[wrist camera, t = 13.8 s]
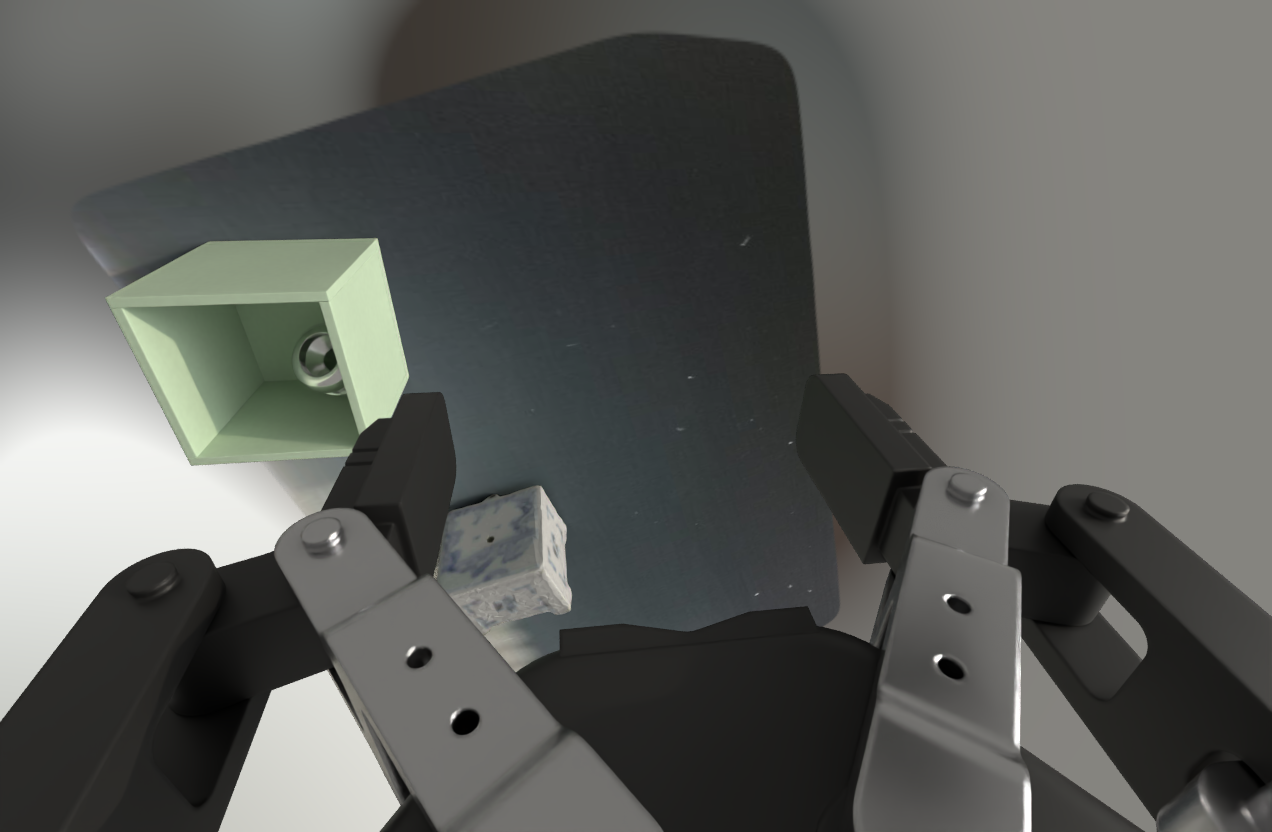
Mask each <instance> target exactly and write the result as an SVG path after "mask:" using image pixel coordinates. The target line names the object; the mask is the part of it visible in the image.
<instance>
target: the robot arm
mask: <svg viewBox="0 0 1272 832" xmlns="http://www.w3.org/2000/svg"><path fill="white" fill-rule="evenodd" d="M796 447H797V452H798V456H799V458H800V460H801V462H802V464H803V465H804V467H805V469H806V470H807V472H808V473H809V475H810V477H811V478H812V480H813V482H814V483H815V485H816V487H817V488H818V490H819V492H820V493H821V495H822V497H823V498H824V500H825V502H826V503H827V505H828V507H829V508H830V510H831V511H832V513H833V515H834V516H835V518H836V520H837V521H838V523H839V525H840V526H841V528H842V530H843V531H844V533H845V534H846V536H847V538H848V539H849V541H850V543H851V544H852V546H853V548H854V549H855V551H856V553H857V554H858V556H859V558H860V559H861V561H862V563H863V564H873V563H884V562H887V563H888V564H889V566H890V567H891V569H890V572H889V576H888V578H887V581H886V584H885V588H884V592H883V595H882V599H881V603H880V606H879V610H878V614H877V617H876V621H875V625H874V629H873V633H872V636H871V640H870V643H868V642H866V641H863V640H861V639H859V638H857V637H855V636H852V635H849V634H846V633H843V632H841V631H837V630H833V629H829V628H825V627H819V626H816V624H815V621H814V619H813V617H812V615H811V613H810V610H809V608H808V606H805V607H795V608H784V609H774V610H763V611H752V612H747V613H744V614H741V615H738V616H736V617H733V618H730V619H727V620H724V621H721V622H718V623H716V624H713V625H710V626H707V627H704V628H701V629H698V630H695V631H690V632H683V631H675V630H667V629H660V628H652V627H644V626H636V625H628V624H615V625H605V626H594V627H583V628H573V629H562V630H560V650H558V651H556V652H553V653H550V654H547V655H545V656H543V657H541V658H539V659H537V660H535V661H533V662H531V663H530V664H528V665H526V666H525V667H523V668H521V669H520V670H519V671H517V672H516V673H515V671H514V670H513V669H512V668H511V667H510V666H509V664H508V663H507V662H506V661H505V660H504V659H503V657H502V656H501V655H500V654H499V653H498V652H497V650H496V649H495V648H494V647H493V646H492V645H491V643H490V642H489V641H488V640H487V639H486V638H485V636H484V635H483V634H482V633H481V632H480V631H479V629H478V628H477V627H476V626H475V625H474V624H473V622H472V621H471V620H470V619H469V618H468V617H467V615H466V614H465V613H464V612H463V611H462V610H461V608H460V607H459V606H458V605H457V604H456V603H455V601H454V600H453V599H452V598H451V597H450V596H449V594H448V593H447V592H446V591H445V590H444V589H443V587H442V586H441V585H440V584H439V583H438V582H437V580H436V579H435V578H434V577H433V575H434V570H435V566H436V562H437V557H438V553H439V549H440V544H441V540H442V536H443V531H444V527H445V523H446V518H447V514H448V510H449V506H450V501H451V497H452V493H453V488H454V484H455V479H456V457H455V450H454V445H453V440H452V435H451V430H450V425H449V419H448V414H447V409H446V404H445V400H444V397H443V395H442V393H441V392H431V393H410V394H403V395H402V397H401V399H400V402H399V404H398V406H397V408H396V411H395V413H394V415H393V417H392V418H378V419H377V420H376V421H375V422H373V423H372V424H371V425H370V426H369V427H367V428H366V429H365V430H364V431H363V432H361V433H360V435H359V437H358V439H357V441H356V443H355V445H354V447H353V449H352V453H350V455H349V457H348V459H347V461H346V463H345V467H343V469H342V470H341V472H340V474H339V476H338V478H337V480H336V482H335V484H334V486H333V488H332V490H331V492H330V494H329V496H328V498H327V500H326V502H325V504H324V506H323V508H322V510H321V511H320V512H316V513H314V514H311V515H309V516H307V517H305V518H303V519H301V520H299V521H298V522H296V523H294V524H293V525H292V526H290V527H289V528H288V529H287V530H286V531H285V532H284V533H283V534H282V535H281V537H280V538H279V539H278V541H277V543H276V545H275V549H274V551H272V552H270V553H267V554H264V555H261V556H258V557H254V558H250V559H247V560H244V561H240V562H236V563H233V564H230V565H226V566H222V567H219V568H216V567H215V565H214V563H213V561H212V560H211V558H210V556H209V555H207V554H206V553H204V552H203V551H200V550H196V549H177V550H170V551H166V552H162V553H159V554H156V555H153V556H150V557H148V558H146V559H143V560H141V561H139V562H137V563H135V564H133V565H131V566H130V567H128V568H127V569H125V570H123V571H122V572H120V573H119V574H118V575H116V576H115V577H114V578H113V579H112V580H110V581H109V582H108V583H107V584H106V585H105V586H104V587H103V589H102V590H101V591H100V592H99V594H98V595H97V596H96V597H95V599H94V600H93V601H92V603H91V604H90V605H89V607H88V608H87V609H86V611H85V612H84V613H83V614H82V616H81V617H80V618H79V620H78V621H77V622H76V624H75V625H74V626H73V628H72V629H71V630H70V631H69V633H68V634H67V635H66V637H65V638H64V639H63V641H62V642H61V643H60V645H59V646H58V647H57V649H56V650H55V651H54V652H53V654H52V655H51V656H50V658H49V659H48V660H47V662H46V663H45V664H44V665H43V667H42V668H41V669H40V671H39V672H38V674H37V675H36V676H35V677H34V679H33V680H32V681H31V683H30V684H29V685H28V687H27V688H26V689H25V690H24V692H23V693H22V694H21V696H20V697H19V698H18V700H17V701H16V702H15V703H14V705H13V706H12V707H11V709H10V710H9V711H8V713H7V714H6V715H5V717H4V718H3V719H2V721H1V722H0V832H218V831H219V828H220V825H221V823H222V820H223V817H224V815H225V812H226V809H227V807H228V804H229V802H230V799H231V796H232V794H233V791H234V788H235V786H236V783H237V780H238V778H239V775H240V772H241V770H242V767H243V764H244V762H245V759H246V757H247V754H248V751H249V748H250V746H251V743H252V741H253V738H254V735H255V733H256V730H257V727H258V725H259V722H260V719H261V717H262V714H263V711H264V709H265V706H266V703H267V701H268V698H269V695H270V693H271V690H274V689H276V688H279V687H282V686H284V685H287V684H290V683H293V682H295V681H298V680H300V679H303V678H306V677H309V676H312V675H314V674H317V673H319V672H322V671H325V670H327V671H328V672H329V674H330V676H331V677H332V680H333V681H334V683H335V685H336V687H337V688H338V690H339V692H340V694H341V696H342V697H343V699H344V701H345V703H346V705H347V706H348V708H349V710H350V712H351V713H352V715H353V717H354V719H355V721H356V722H357V724H358V726H359V728H360V730H361V731H362V733H363V735H364V737H365V739H366V740H367V742H368V744H369V746H370V748H371V749H372V751H373V753H374V755H375V757H376V759H377V761H378V763H379V765H380V767H381V769H382V771H383V773H384V775H385V777H386V779H387V781H388V783H389V785H390V786H391V788H392V790H393V792H394V794H395V796H396V798H397V800H398V801H399V803H400V805H401V806H400V807H399V809H398V810H397V811H396V812H395V814H394V815H393V816H392V817H391V818H390V820H389V821H388V822H387V823H386V825H385V826H384V827H383V828H382V829H381V831H380V832H1145V831H1143V830H1142V829H1140V828H1139V827H1137V826H1136V825H1134V824H1133V823H1132V822H1130V821H1129V820H1127V819H1126V818H1124V817H1123V816H1121V815H1120V814H1119V813H1117V812H1116V811H1114V810H1113V809H1111V808H1110V807H1108V806H1107V805H1106V804H1104V803H1103V802H1101V801H1100V800H1098V799H1097V798H1095V797H1094V796H1092V795H1091V794H1090V793H1088V792H1087V791H1085V790H1084V789H1082V788H1081V787H1079V786H1078V785H1076V784H1075V783H1074V782H1072V781H1070V780H1069V779H1068V778H1066V777H1065V776H1063V775H1062V774H1061V773H1059V772H1058V771H1056V770H1055V769H1053V768H1052V767H1050V766H1049V765H1048V764H1046V763H1045V762H1043V761H1042V760H1040V759H1039V758H1037V757H1036V756H1035V755H1033V754H1032V753H1030V752H1029V751H1027V750H1026V749H1024V748H1023V747H1021V746H1020V665H1021V664H1020V663H1021V659H1020V658H1021V637H1022V639H1023V640H1024V641H1025V643H1026V644H1027V646H1028V647H1029V648H1030V649H1031V651H1032V652H1033V653H1034V655H1035V656H1036V658H1037V659H1038V660H1039V662H1040V663H1041V665H1042V666H1043V667H1044V669H1045V670H1046V672H1047V673H1048V674H1049V676H1050V677H1051V678H1052V680H1053V681H1054V682H1055V684H1056V685H1057V686H1058V688H1059V689H1060V691H1061V692H1062V693H1063V695H1064V696H1065V698H1066V699H1067V700H1068V702H1069V703H1070V704H1071V706H1072V707H1073V708H1074V710H1075V711H1076V712H1077V714H1078V715H1079V717H1080V718H1081V719H1082V721H1083V722H1084V724H1085V725H1086V726H1087V727H1088V729H1089V730H1090V732H1091V733H1092V735H1093V736H1094V737H1095V738H1096V740H1097V741H1098V743H1099V744H1100V746H1101V747H1102V748H1103V750H1104V751H1105V752H1106V753H1107V755H1108V756H1109V758H1110V759H1111V760H1112V762H1113V763H1114V765H1115V766H1116V767H1117V769H1118V770H1119V772H1120V773H1121V774H1122V776H1123V777H1124V778H1125V780H1126V781H1127V782H1128V784H1129V785H1130V786H1131V788H1132V789H1133V791H1134V792H1135V793H1136V795H1137V796H1138V797H1139V799H1140V800H1141V802H1142V803H1143V804H1144V806H1145V807H1146V809H1147V810H1148V811H1149V813H1150V814H1151V815H1152V817H1153V818H1154V819H1155V821H1156V827H1157V832H1272V616H1270V615H1269V614H1268V613H1267V612H1266V611H1264V610H1263V609H1262V608H1261V607H1259V606H1258V605H1257V604H1256V603H1255V602H1254V601H1252V600H1251V599H1250V598H1249V597H1248V596H1246V595H1245V594H1244V593H1243V592H1241V591H1240V590H1239V589H1238V588H1237V587H1236V586H1234V585H1233V584H1232V583H1230V581H1228V580H1227V579H1226V578H1225V577H1224V576H1222V575H1221V574H1220V573H1219V572H1218V571H1216V570H1215V569H1214V568H1212V567H1211V566H1210V565H1209V564H1208V563H1207V562H1206V561H1204V560H1203V559H1202V558H1201V557H1199V556H1198V555H1197V554H1196V553H1195V552H1194V551H1192V550H1191V549H1190V548H1189V547H1188V546H1186V545H1185V544H1184V543H1183V542H1182V541H1180V540H1179V539H1178V538H1177V537H1175V536H1174V535H1173V534H1172V533H1171V532H1169V531H1168V530H1167V529H1166V528H1165V527H1163V526H1162V525H1161V524H1160V523H1159V522H1157V521H1156V520H1155V519H1154V518H1153V517H1151V516H1150V515H1149V514H1148V513H1147V512H1145V511H1144V510H1143V509H1142V508H1140V507H1139V506H1138V505H1137V504H1135V503H1133V502H1132V501H1130V500H1128V499H1127V498H1125V497H1123V496H1121V495H1119V494H1116V493H1114V492H1111V491H1109V490H1106V489H1102V488H1099V487H1094V486H1089V485H1081V484H1073V485H1067V486H1064V487H1062V488H1060V489H1059V490H1058V492H1057V494H1056V496H1055V498H1054V499H1053V501H1052V503H1051V505H1050V506H1049V505H1043V504H1036V503H1029V502H1022V501H1015V500H1009V497H1008V495H1007V494H1006V492H1005V491H1004V490H1003V489H1002V488H1001V487H1000V486H999V485H998V484H997V483H995V482H994V481H992V480H991V479H989V478H988V477H986V476H984V475H982V474H979V473H977V472H974V471H971V470H968V469H964V468H959V467H950V466H949V467H948V466H946V464H944V462H943V461H942V460H941V459H940V458H939V457H938V456H937V455H936V454H935V453H934V452H933V451H932V450H931V449H930V448H929V447H928V446H927V445H926V444H925V442H924V441H922V439H921V438H920V437H919V436H918V435H917V434H916V433H913V430H912V429H911V428H910V427H909V426H908V425H907V423H906V422H902V418H901V417H900V416H899V415H898V414H897V413H896V412H895V411H894V410H893V409H892V408H891V407H890V406H889V405H888V404H886V403H884V402H883V401H881V400H879V399H877V398H875V397H874V396H872V395H870V394H865V393H864V392H863V391H862V390H861V389H860V388H859V387H858V386H857V385H856V383H854V381H853V380H852V379H851V378H850V377H849V376H848V375H847V374H821V375H811V376H810V377H809V378H808V380H807V383H806V387H805V392H804V397H803V402H802V407H801V412H800V417H799V422H798V427H797V432H796ZM1110 595H1112V596H1113V597H1114V598H1115V599H1116V600H1117V601H1118V602H1119V603H1120V604H1121V605H1122V606H1123V607H1124V608H1125V609H1126V610H1127V611H1128V612H1129V613H1130V615H1132V617H1133V618H1134V619H1136V621H1137V622H1138V623H1139V624H1140V626H1141V627H1142V629H1143V631H1144V633H1145V635H1146V638H1147V643H1148V650H1147V654H1146V656H1145V658H1144V659H1143V660H1142V659H1141V658H1140V657H1139V656H1138V655H1137V654H1136V652H1135V651H1134V650H1133V649H1132V648H1131V647H1130V646H1129V645H1128V644H1127V643H1126V641H1125V640H1124V639H1123V638H1122V637H1121V636H1120V635H1119V634H1118V632H1117V631H1115V629H1114V628H1113V627H1112V626H1111V625H1110V624H1109V623H1108V621H1107V620H1106V619H1105V618H1104V617H1103V616H1102V615H1101V614H1100V613H1099V611H1100V609H1101V608H1102V606H1103V605H1104V604H1105V602H1106V601H1107V599H1108V597H1109V596H1110Z"/></svg>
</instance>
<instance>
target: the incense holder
mask: <svg viewBox="0 0 1272 832" xmlns="http://www.w3.org/2000/svg"><path fill="white" fill-rule="evenodd" d="M566 540H567V538H566V525H565V524H564V523H563V521H562V519H561V518H560V517H559V515H558V514H557V512H556V510H555V508H554V507H553V505H552V503H551V502H550V500H549V499H548V497H547V495H546V494H545V492H544V490H543V488H542V487H541V486H532V487H529V488H525V489H522V490H519V491H516V492H514V493H511V494H509V495H504V496H499V495H497V494H492V495H491V496H489V497H488V498H486V499H485V500H484V501H483V502H481V503H478V504H474V505H470V506H466V507H463V508H460V509H456V510H452V511H450V512H449V513H448V514H447V518H446V523H445V527H444V531H443V536H442V543H441V550H440V559H439V567H438V575H437V582H438V583H439V584H440V585H441V586H442V587H443V589H444V590H445V591H446V592H447V593H448V594H449V596H450V597H451V598H452V599H453V600H454V601H455V603H456V604H457V605H458V606H459V607H460V608H461V610H462V611H463V612H464V613H465V614H466V615H467V617H468V618H469V619H470V620H471V621H472V622H473V624H474V625H475V626H476V627H477V628H478V629H479V631H480V632H481V633H482V634H483V635H486V634H487V633H488V632H490V630H491V628H492V627H493V626H496V625H499V624H502V623H504V622H508V621H513V620H518V619H522V618H525V617H530V616H532V615H536V614H540V613H544V612H548V611H549V612H552V613H554V614H555V615H558V614H564V613H566V612H569V611H570V610H571V599H572V593H571V588H570V587H569V585H568V583H567V568H566V558H565V542H566Z"/></svg>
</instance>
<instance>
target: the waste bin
mask: <svg viewBox="0 0 1272 832" xmlns="http://www.w3.org/2000/svg"><path fill="white" fill-rule="evenodd" d="M105 299H106V301H107V303H108V305H109V307H110V308H111V311H112V313H113V315H114V317H115V319H116V321H117V323H118V325H119V327H120V328H121V330H122V332H123V334H124V336H125V338H126V340H127V342H128V344H129V346H130V348H131V350H132V352H133V354H134V355H135V358H136V359H137V362H138V363H139V365H140V367H141V369H142V371H143V373H144V375H145V377H146V379H147V381H148V383H149V385H150V387H151V388H152V390H153V393H154V395H155V396H156V398H157V400H158V402H159V404H160V406H161V408H162V410H163V412H164V414H165V416H166V418H167V420H168V422H169V424H170V425H171V427H172V429H173V431H174V433H175V435H176V437H177V439H178V441H179V443H180V445H181V447H182V449H183V451H184V453H185V455H186V457H187V458H188V461H189V462H190V464H191V465H192V466H193V465H211V464H227V463H243V462H261V461H278V460H295V459H312V458H329V457H346V456H349V455H350V453H352V449H353V447H354V445H355V443H356V441H357V439H358V437H359V435H360V433H361V432H363V431H364V430H365V429H366V428H367V427H369V426H370V425H371V424H372V423H373V422H375V421H376V420H377V419H378V418H391V416H392V414H393V412H394V409H395V407H396V405H397V403H398V401H399V398H400V396H401V394H402V392H403V389H404V387H405V385H406V383H407V380H408V378H409V374H408V369H407V365H406V361H405V356H404V352H403V348H402V343H401V339H400V335H399V330H398V326H397V322H396V317H395V313H394V309H393V304H392V300H391V296H390V291H389V287H388V283H387V278H386V274H385V270H384V265H383V261H382V257H381V252H380V248H379V243H378V239H377V238H365V239H314V240H262V241H211V242H207V243H205V244H203V245H201V246H199V247H197V248H196V249H194V250H192V251H190V252H188V253H186V254H185V255H183V256H181V257H179V258H177V259H175V260H174V261H172V262H170V263H168V264H166V265H164V266H163V267H161V268H159V269H157V270H155V271H153V272H152V273H150V274H148V275H146V276H144V277H142V278H141V279H139V280H137V281H135V282H133V283H131V284H130V285H128V286H126V287H124V288H122V289H120V290H119V291H117V292H115V293H113V294H112V295H109V296H108V297H106V298H105ZM323 322H325V324H326V327H327V331H328V334H329V337H330V340H331V344H332V347H333V350H334V354H335V357H336V360H337V364H338V367H339V370H340V373H341V377H342V380H343V383H344V387H345V390H346V393H347V397H337V396H333V395H329V394H326V393H321V392H317V391H313V390H311V389H309V388H307V387H305V386H304V385H303V384H302V383H301V382H300V381H299V380H298V379H297V377H296V375H295V373H294V370H293V367H292V353H293V349H294V346H295V344H296V342H297V340H298V339H299V337H300V336H301V335H302V334H303V333H304V332H305V331H306V330H307V329H308V328H310V327H312V326H314V325H316V324H319V323H323Z"/></svg>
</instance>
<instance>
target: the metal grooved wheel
mask: <svg viewBox="0 0 1272 832" xmlns="http://www.w3.org/2000/svg"><path fill="white" fill-rule="evenodd" d="M292 367H293V370H294V373H295V375H296V377H297V379H298V380H299V381H300V382H301V383H302V384H303V385H304V386H305V387H307V388H309V389H311V390H313V391H317V392H321V393H326V394H329V395H333V396H337V397H347V393H346V390H345V387H344V383H343V380H342V377H341V373H340V370H339V367H338V364H337V360H336V357H335V354H334V350H333V347H332V344H331V340H330V337H329V334H328V331H327V327H326V324H325V322H323V323H319V324H316V325H314V326H312V327H310V328H308V329H307V330H306V331H305V332H304V333H303V334H302V335H301V336H300V337H299V339H298V340H297V342H296V344H295V346H294V349H293V353H292Z"/></svg>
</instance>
